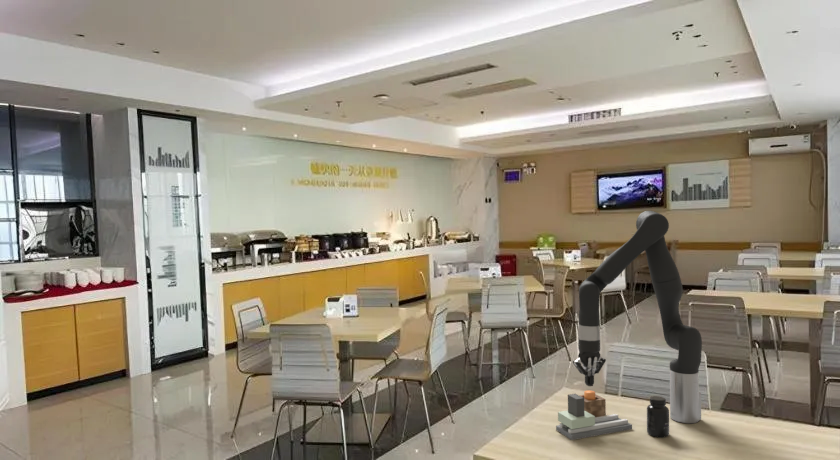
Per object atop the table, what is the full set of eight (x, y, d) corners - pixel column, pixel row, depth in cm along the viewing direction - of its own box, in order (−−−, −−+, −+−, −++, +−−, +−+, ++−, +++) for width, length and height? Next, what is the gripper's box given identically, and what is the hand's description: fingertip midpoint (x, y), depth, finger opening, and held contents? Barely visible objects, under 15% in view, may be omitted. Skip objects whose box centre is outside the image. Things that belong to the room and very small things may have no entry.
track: (614, 419, 195) (614, 412, 195) (632, 429, 186) (632, 421, 186) (556, 429, 187) (556, 422, 187) (571, 440, 178) (571, 431, 178)
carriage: (580, 416, 189) (580, 391, 189) (595, 425, 182) (594, 398, 182) (558, 420, 186) (557, 394, 186) (571, 429, 179) (571, 401, 179)
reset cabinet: (593, 413, 201) (593, 393, 201) (605, 420, 195) (605, 399, 194) (573, 416, 198) (573, 396, 198) (585, 423, 192) (585, 402, 192)
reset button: (591, 400, 199) (590, 389, 199) (597, 404, 195) (597, 392, 195) (582, 402, 198) (582, 391, 198) (588, 405, 194) (588, 394, 194)
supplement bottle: (671, 438, 178) (671, 402, 177) (649, 437, 179) (648, 401, 179) (666, 430, 184) (666, 395, 184) (645, 429, 186) (644, 394, 185)
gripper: (598, 333, 201) (598, 380, 202) (567, 336, 197) (567, 384, 197) (611, 338, 194) (611, 386, 195) (579, 341, 190) (580, 390, 190)
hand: (589, 385), depth 196 cm, fingers closed
